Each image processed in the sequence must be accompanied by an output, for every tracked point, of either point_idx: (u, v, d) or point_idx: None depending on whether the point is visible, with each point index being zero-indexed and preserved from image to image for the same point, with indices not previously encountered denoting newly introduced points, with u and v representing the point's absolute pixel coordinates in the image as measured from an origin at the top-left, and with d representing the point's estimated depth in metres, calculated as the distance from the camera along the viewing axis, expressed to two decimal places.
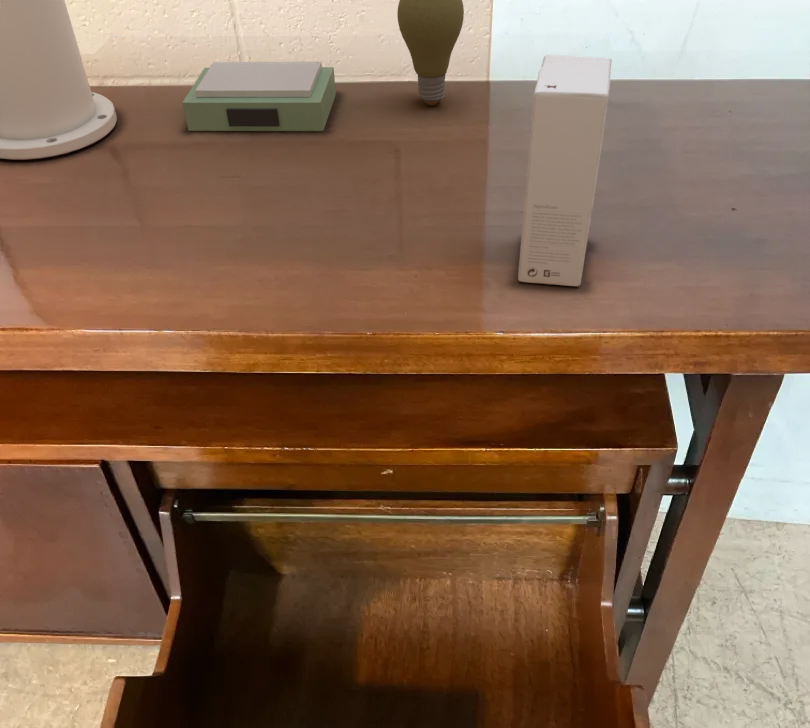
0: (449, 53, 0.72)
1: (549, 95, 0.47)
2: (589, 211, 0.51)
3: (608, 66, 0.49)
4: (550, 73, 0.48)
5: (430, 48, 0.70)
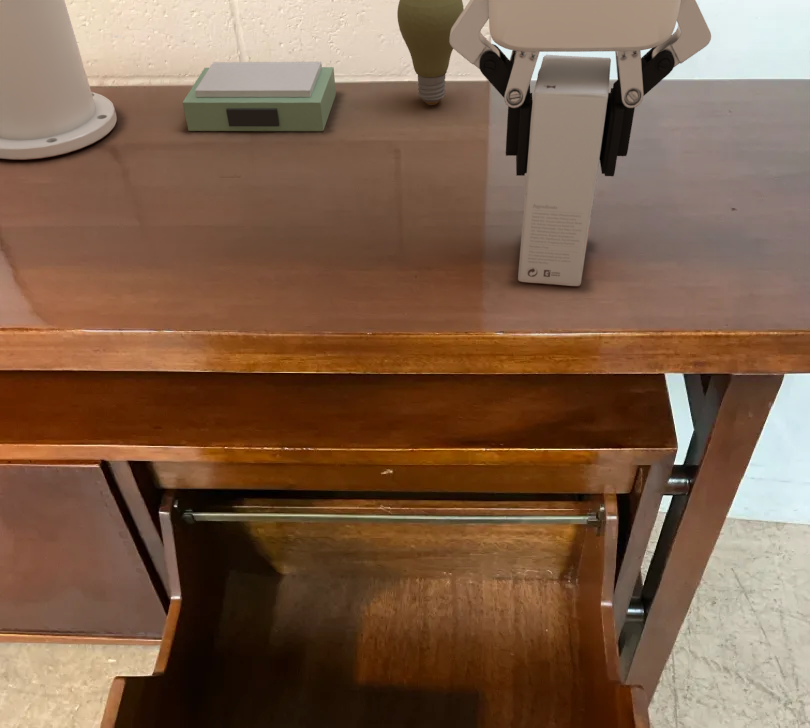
0: (449, 53, 0.72)
1: (549, 96, 0.47)
2: (589, 211, 0.51)
3: (607, 65, 0.49)
4: (550, 73, 0.48)
5: (430, 48, 0.70)
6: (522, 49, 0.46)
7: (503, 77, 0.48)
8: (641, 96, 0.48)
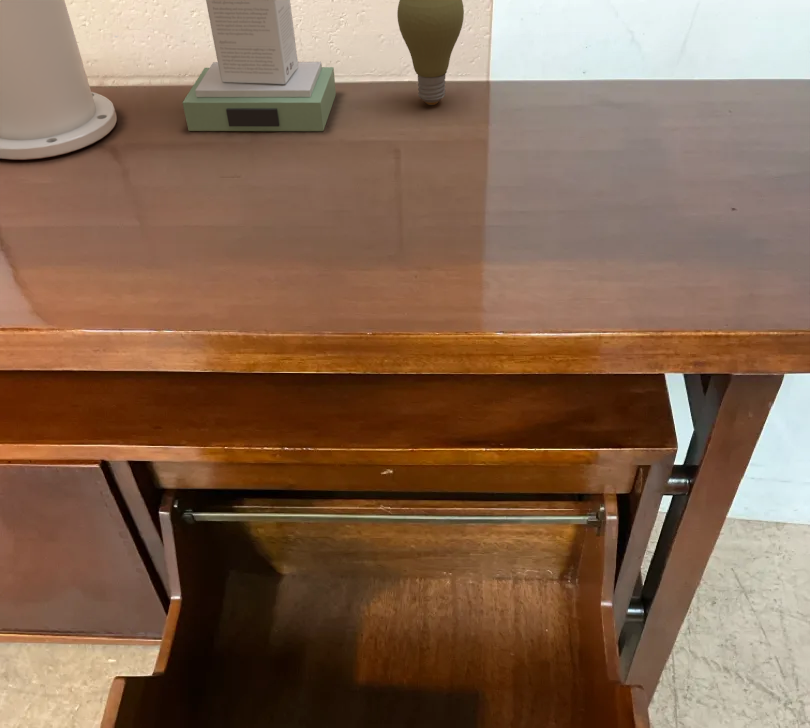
0: (449, 53, 0.72)
1: None
2: (289, 0, 0.71)
3: None
4: None
5: (430, 48, 0.70)
6: None
7: None
8: None
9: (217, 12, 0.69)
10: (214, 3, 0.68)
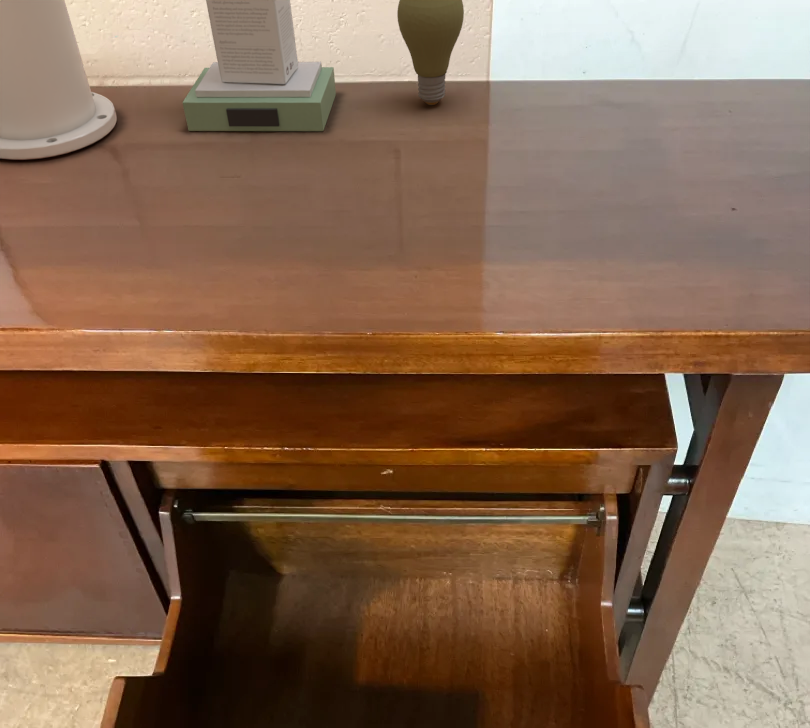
0: (449, 53, 0.72)
1: None
2: (289, 0, 0.71)
3: None
4: None
5: (430, 48, 0.70)
6: None
7: None
8: None
9: (217, 12, 0.69)
10: (214, 3, 0.68)
